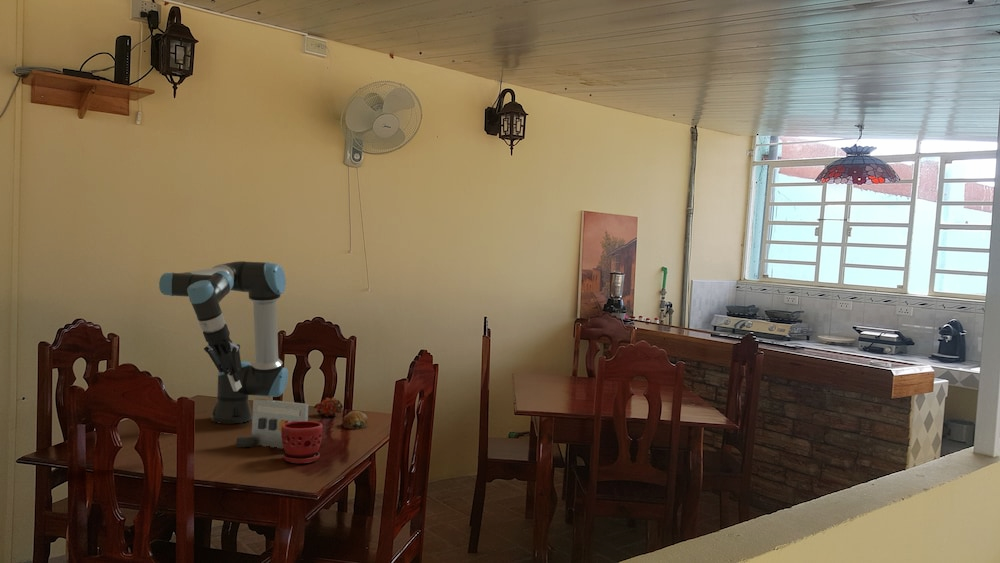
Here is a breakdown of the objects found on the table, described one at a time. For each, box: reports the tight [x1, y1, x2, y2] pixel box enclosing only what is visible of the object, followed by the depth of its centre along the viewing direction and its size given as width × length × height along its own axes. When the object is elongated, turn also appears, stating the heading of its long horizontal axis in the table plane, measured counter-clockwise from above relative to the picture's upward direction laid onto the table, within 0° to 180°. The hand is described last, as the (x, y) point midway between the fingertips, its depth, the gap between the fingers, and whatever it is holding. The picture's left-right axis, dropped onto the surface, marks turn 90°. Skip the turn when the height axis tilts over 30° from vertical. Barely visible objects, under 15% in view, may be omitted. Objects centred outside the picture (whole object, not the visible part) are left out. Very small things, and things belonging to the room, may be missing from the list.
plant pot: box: [281, 420, 324, 464], centre depth 237 cm, size 13×13×12 cm
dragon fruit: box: [313, 396, 344, 418], centre depth 303 cm, size 8×8×12 cm
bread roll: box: [342, 410, 369, 430], centre depth 287 cm, size 10×10×8 cm
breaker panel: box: [250, 397, 309, 449], centre depth 250 cm, size 20×3×16 cm, turn 78°
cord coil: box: [235, 435, 256, 449], centre depth 250 cm, size 6×6×2 cm
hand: (237, 388), depth 239 cm, fingers closed
